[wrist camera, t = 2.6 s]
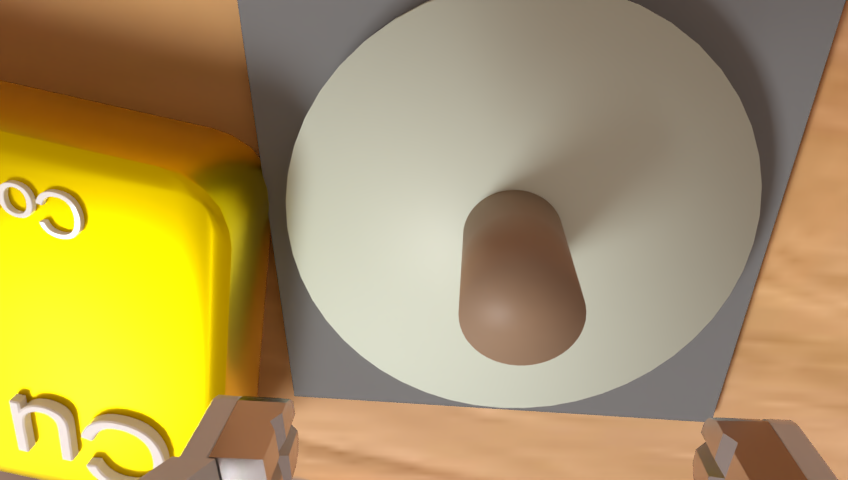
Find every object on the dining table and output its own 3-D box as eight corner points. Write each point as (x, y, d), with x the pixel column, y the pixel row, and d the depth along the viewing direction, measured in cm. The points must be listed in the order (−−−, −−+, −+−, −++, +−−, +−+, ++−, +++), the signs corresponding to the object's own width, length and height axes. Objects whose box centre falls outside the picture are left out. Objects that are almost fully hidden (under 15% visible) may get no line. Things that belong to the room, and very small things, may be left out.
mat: (856, -63, 15) (865, -63, 14) (707, 414, 23) (711, 422, 22) (234, -60, 16) (228, -60, 16) (297, 389, 24) (294, 396, 24)
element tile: (282, 138, 19) (226, 191, 15) (256, 439, 26) (213, 533, 22) (-148, 42, 19) (-328, 68, 15) (-59, 371, 26) (-163, 453, 22)
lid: (812, -22, 15) (973, -7, 10) (691, 400, 22) (751, 529, 17) (266, -20, 16) (174, -7, 11) (316, 379, 23) (272, 493, 18)
